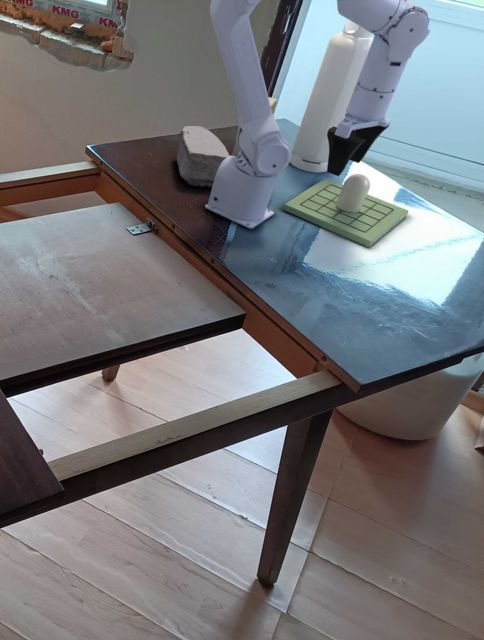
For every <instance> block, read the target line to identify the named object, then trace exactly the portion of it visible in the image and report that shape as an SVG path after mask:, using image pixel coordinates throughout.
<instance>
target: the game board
mask: <svg viewBox="0 0 484 640" xmlns="http://www.w3.org/2000/svg"><path fill="white" fill-rule="evenodd" d="M343 185H344V183H340V182H338V181H335V180H332V179H330V178H328V177H325V178H323V179H321V180H320V181H318V182H317V183H315V184H314V185H312V186H311V187H309V188H307V189H306V190H304V191H303V192H301V193H300V194H298V195H297V196H295V197H293V198H292V199H290V200H289V201H286V202H285V203H284V204H283V208H282V210H283V211H285V212H287V213H289V214H291V215H294V216H296V217H298V218H300V219H303V220H306V221H307V222H309V223H312V224H314V225H317V226H319V227H321V228H323V229H325V230H328V231H330V232H332V233H335V234H336V235H339V236H341V237H344V238H346V239H349V240H350V241H353V242H355V243H358V244H360V245H362V246H364V247H367V248H370V247H371V246H372V245H373V244H375V243H376V242H377V241H378V240H379V239H381V238H382V237H383V236H384V235H385V234H387V233H388V232H389V231H390V230H392V229H393V228H394V227H395V226H397V224H399V223H400V222H401V221H402V220H403V219H405V218H406V217H407V216H408V213H409V210H408V209H406V208H403V207H400V206H398V205H396V204H393V203H390V202H388V201H386V200H383V199H381V198H378V197H375V196H373V195H370V194H368V193H367V196H366V198H365V200H364V203H363V205H362V207H361V209H360V211H359V212H356V213H351V212H346V211H343V210H341V209H339V208H338V207H337V206H336V202H337V199H338V197H339V194H340V192H341V189H342V187H343Z"/></svg>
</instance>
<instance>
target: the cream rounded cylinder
mask: <svg viewBox="0 0 484 640" xmlns="http://www.w3.org/2000/svg"><path fill="white" fill-rule="evenodd" d="M370 189H371V182H370V180H369V177H367V175H364V174H361V173H355V174H351V175H350V176H348V177H347V178H346V179H345V181H344V182H343V187H342V189H341V192H340V194H339V197H338V199H337V202H336V206H337V207H338V208H339V209H341V210H343V211H346V212H351V213H356V212H359V211H360V209H361V207H362V205H363V203H364V200H365V198H366V196H367V194H368V193H369V192H370Z"/></svg>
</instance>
